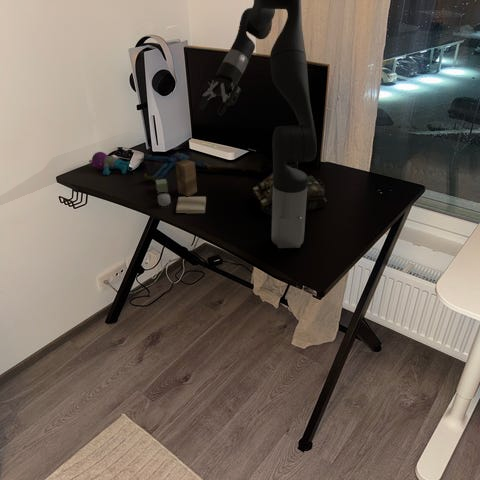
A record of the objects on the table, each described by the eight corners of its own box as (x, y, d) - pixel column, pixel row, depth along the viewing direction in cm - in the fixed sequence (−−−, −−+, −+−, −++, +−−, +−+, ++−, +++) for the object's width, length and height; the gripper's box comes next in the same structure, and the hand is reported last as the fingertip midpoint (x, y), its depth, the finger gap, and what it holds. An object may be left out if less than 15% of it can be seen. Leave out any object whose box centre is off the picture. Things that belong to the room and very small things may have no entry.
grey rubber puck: (170, 207, 148) (169, 199, 146) (157, 207, 148) (156, 199, 146) (171, 201, 151) (170, 193, 150) (159, 201, 151) (158, 193, 150)
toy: (135, 169, 178) (100, 159, 180) (135, 154, 174) (99, 143, 176) (119, 183, 168) (82, 172, 171) (118, 167, 164) (81, 156, 167)
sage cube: (168, 192, 157) (167, 183, 155) (157, 193, 156) (156, 184, 154) (166, 187, 160) (165, 178, 158) (156, 189, 159) (155, 180, 157)
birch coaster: (204, 213, 144) (204, 209, 143) (176, 213, 144) (176, 210, 143) (206, 199, 152) (205, 196, 151) (179, 200, 152) (178, 197, 151)
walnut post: (197, 192, 156) (194, 162, 150) (187, 196, 154) (184, 166, 148) (188, 188, 159) (185, 159, 153) (178, 192, 156) (175, 163, 150)
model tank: (251, 198, 152) (251, 156, 144) (314, 190, 156) (317, 149, 148) (262, 217, 142) (262, 173, 133) (329, 208, 146) (333, 164, 138)
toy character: (113, 168, 165) (149, 144, 184) (115, 179, 168) (150, 154, 187) (187, 180, 156) (216, 153, 175) (188, 191, 158) (217, 163, 177)
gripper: (211, 57, 151) (188, 100, 151) (243, 64, 143) (219, 110, 143) (223, 70, 157) (201, 112, 157) (254, 78, 149) (231, 121, 149)
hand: (209, 111), depth 150 cm, fingers open, 8 cm apart
